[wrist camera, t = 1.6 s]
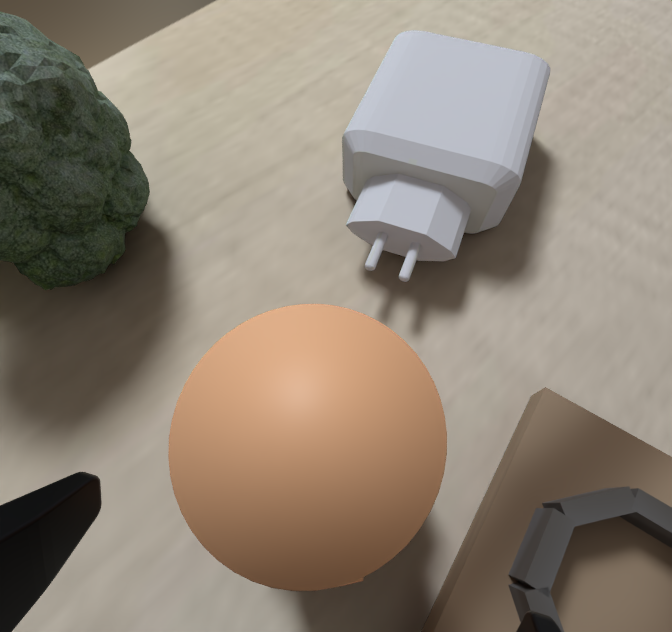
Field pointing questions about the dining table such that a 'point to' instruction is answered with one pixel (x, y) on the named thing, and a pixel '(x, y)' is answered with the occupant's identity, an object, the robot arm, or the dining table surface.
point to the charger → (439, 144)
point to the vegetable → (61, 163)
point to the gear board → (566, 531)
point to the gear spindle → (307, 447)
